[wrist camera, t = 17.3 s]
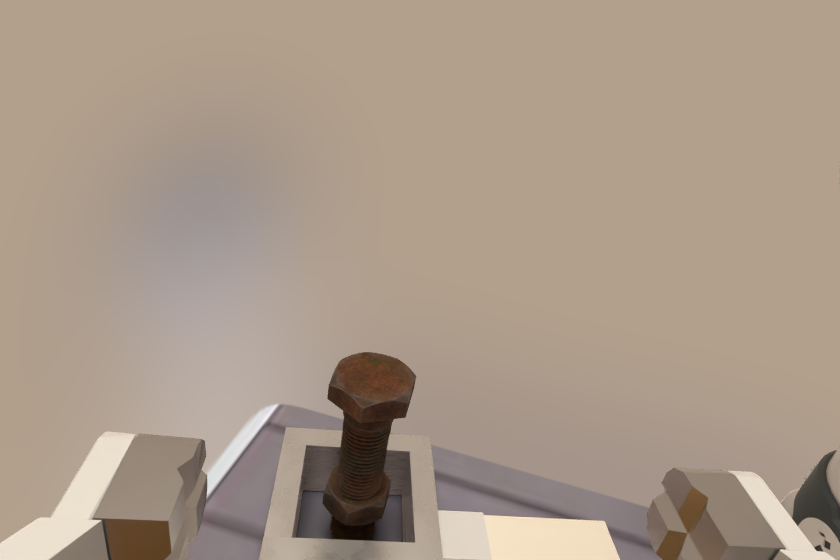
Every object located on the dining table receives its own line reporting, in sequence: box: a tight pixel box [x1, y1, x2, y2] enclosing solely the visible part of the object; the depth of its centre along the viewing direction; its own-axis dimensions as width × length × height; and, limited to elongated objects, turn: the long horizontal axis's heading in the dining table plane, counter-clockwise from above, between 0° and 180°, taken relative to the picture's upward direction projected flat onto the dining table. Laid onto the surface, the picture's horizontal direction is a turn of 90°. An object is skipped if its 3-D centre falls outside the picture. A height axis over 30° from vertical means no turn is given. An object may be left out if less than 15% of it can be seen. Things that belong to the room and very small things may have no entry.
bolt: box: [323, 352, 416, 541], centre depth 39 cm, size 6×5×15 cm
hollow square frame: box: [259, 427, 443, 560], centre depth 41 cm, size 12×12×5 cm
